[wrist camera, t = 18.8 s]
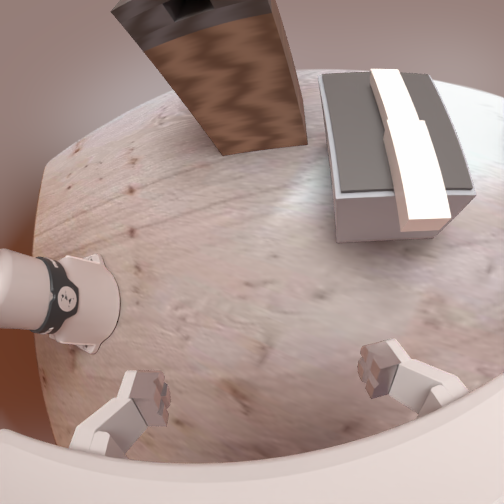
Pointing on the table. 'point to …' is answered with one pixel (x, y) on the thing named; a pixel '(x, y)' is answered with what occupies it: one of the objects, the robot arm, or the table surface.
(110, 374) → the table surface
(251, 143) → the stand
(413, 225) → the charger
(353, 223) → the shelf
